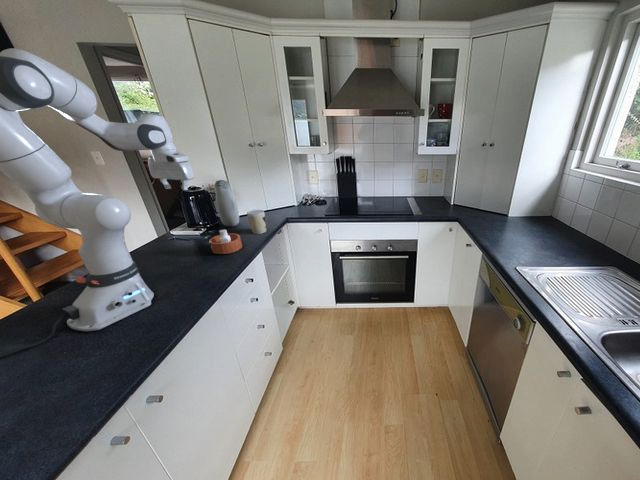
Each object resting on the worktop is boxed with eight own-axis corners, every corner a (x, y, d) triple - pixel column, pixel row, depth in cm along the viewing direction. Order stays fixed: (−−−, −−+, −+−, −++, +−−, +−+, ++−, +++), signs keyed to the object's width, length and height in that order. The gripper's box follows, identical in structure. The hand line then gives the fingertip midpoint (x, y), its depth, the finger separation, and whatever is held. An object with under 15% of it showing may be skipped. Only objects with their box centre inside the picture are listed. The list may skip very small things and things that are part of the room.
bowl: (229, 256, 131) (225, 245, 128) (205, 253, 134) (202, 242, 131) (248, 245, 143) (246, 234, 140) (226, 242, 146) (224, 232, 143)
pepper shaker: (224, 246, 139) (219, 229, 135) (232, 246, 140) (228, 228, 136) (222, 250, 136) (217, 232, 132) (230, 249, 137) (226, 231, 133)
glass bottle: (219, 228, 165) (206, 181, 152) (229, 223, 174) (218, 178, 161) (234, 229, 164) (222, 182, 151) (244, 223, 173) (234, 178, 160)
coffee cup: (269, 232, 160) (266, 212, 155) (252, 235, 155) (248, 215, 150) (265, 227, 167) (262, 208, 161) (249, 230, 162) (245, 211, 157)
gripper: (139, 156, 115) (151, 189, 121) (178, 158, 110) (188, 192, 116) (154, 154, 120) (165, 186, 126) (191, 156, 116) (200, 189, 122)
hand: (176, 189), depth 121 cm, fingers open, 8 cm apart
